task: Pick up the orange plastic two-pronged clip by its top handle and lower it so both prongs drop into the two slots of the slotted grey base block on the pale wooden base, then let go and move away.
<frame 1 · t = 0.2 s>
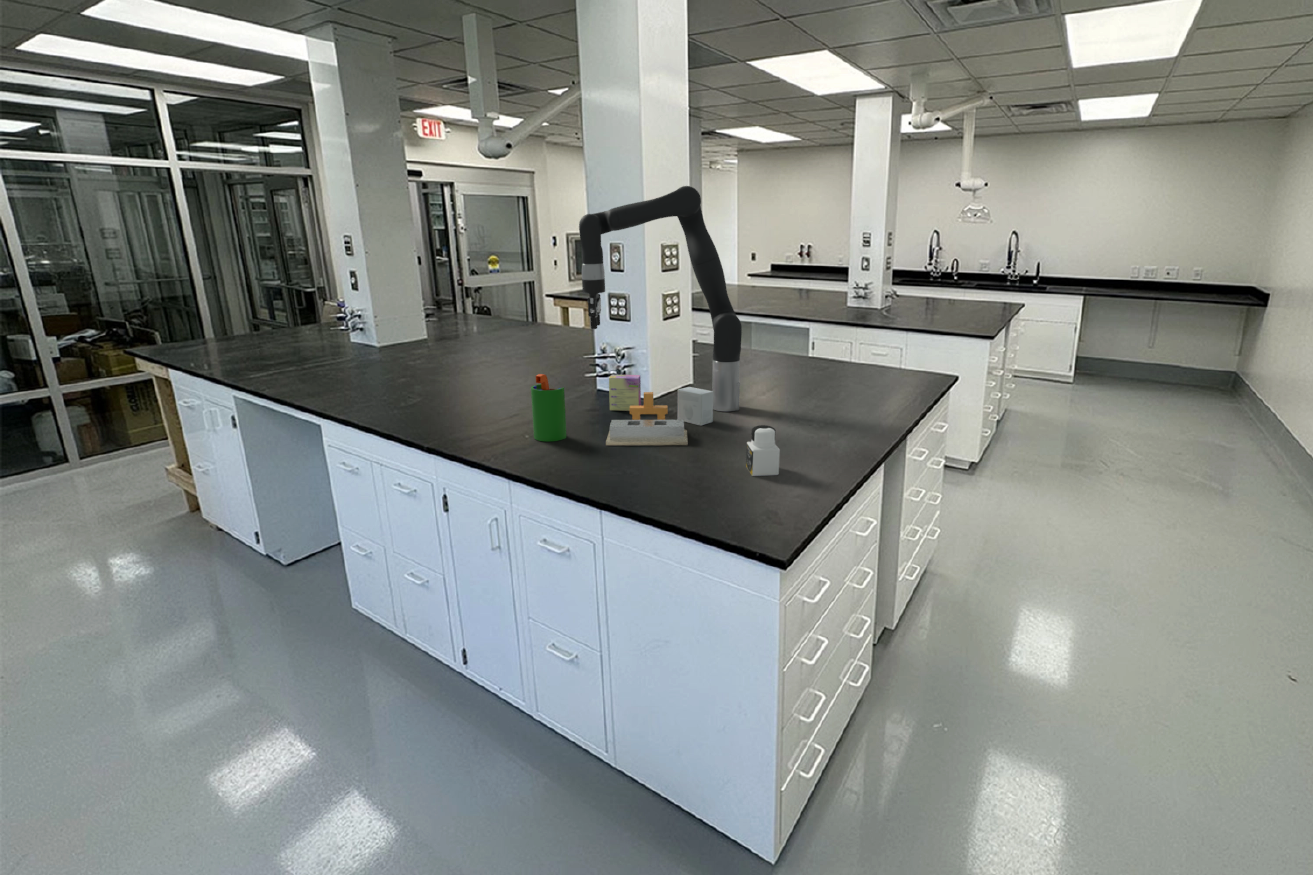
hand: (595, 327, 220), 29 cm above the worktop, tool pointing down, fingers open, 8 cm apart
clip: (648, 426, 209), on the worktop
slotted grey base block: (647, 438, 197), on the worktop
skincare box: (695, 421, 215), on the worktop
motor: (549, 437, 200), on the worktop
medicine bottle: (761, 471, 171), on the worktop
box: (625, 409, 230), on the worktop
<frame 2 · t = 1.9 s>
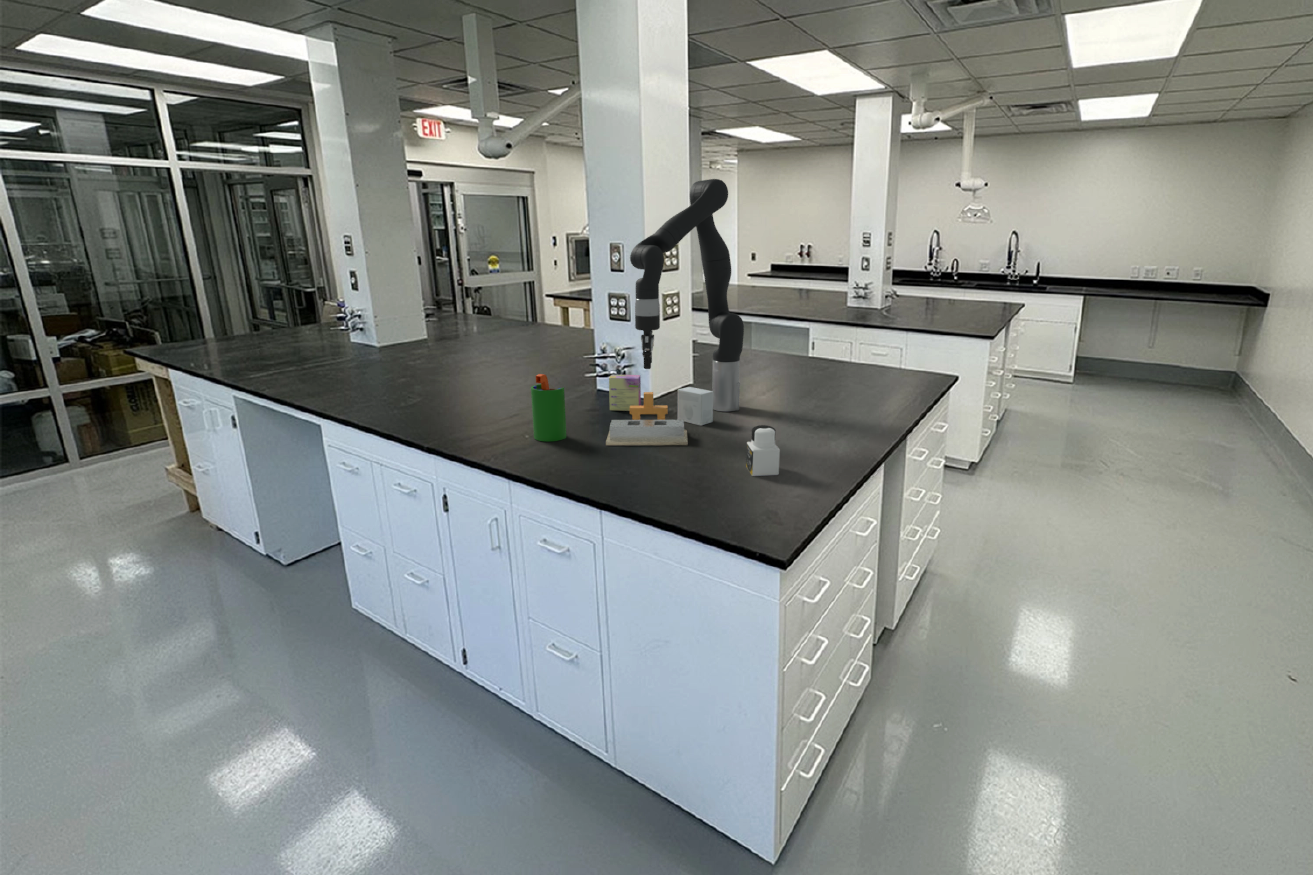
hand: (647, 366, 203), 20 cm above the worktop, tool pointing down, fingers open, 8 cm apart
nothing on the worktop moved.
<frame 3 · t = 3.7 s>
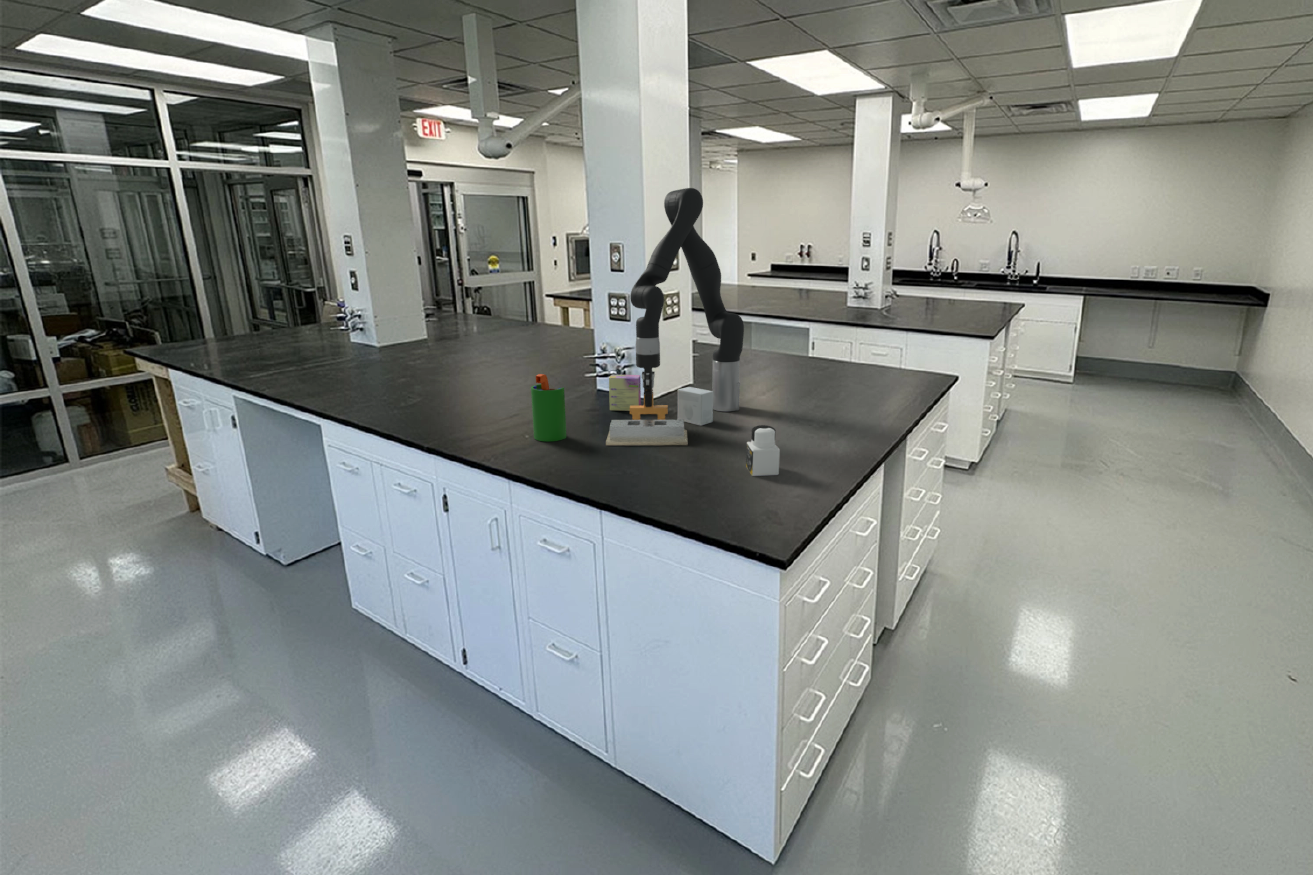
hand: (648, 405, 207), 7 cm above the worktop, tool pointing down, fingers closed on clip, 2 cm apart
clip: (649, 426, 209), on the worktop, touching gripper
everything else where it was.
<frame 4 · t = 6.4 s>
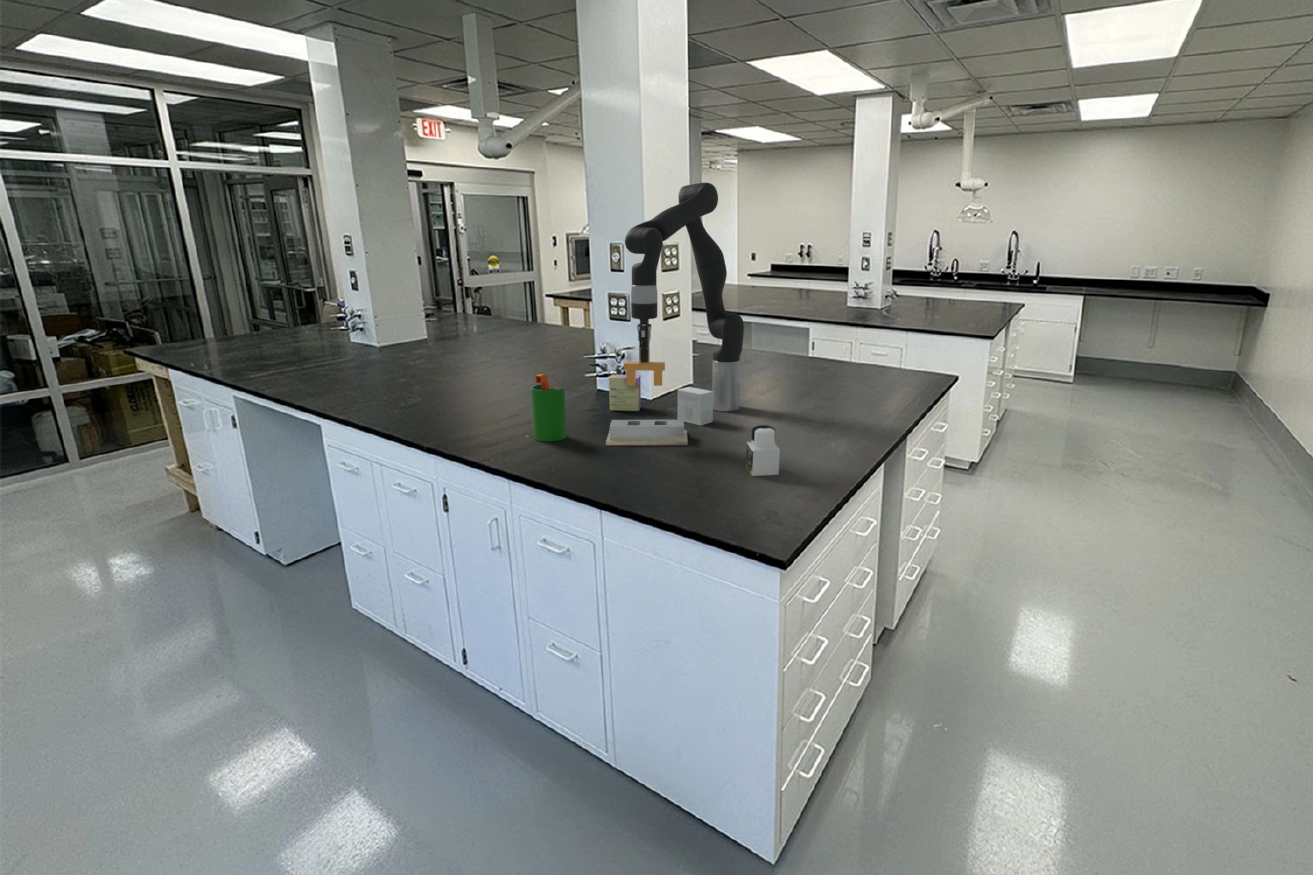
hand: (644, 360, 191), 24 cm above the worktop, tool pointing down, fingers closed on clip, 2 cm apart
clip: (644, 384, 193), point 17 cm above the worktop, touching gripper
everything else where it was.
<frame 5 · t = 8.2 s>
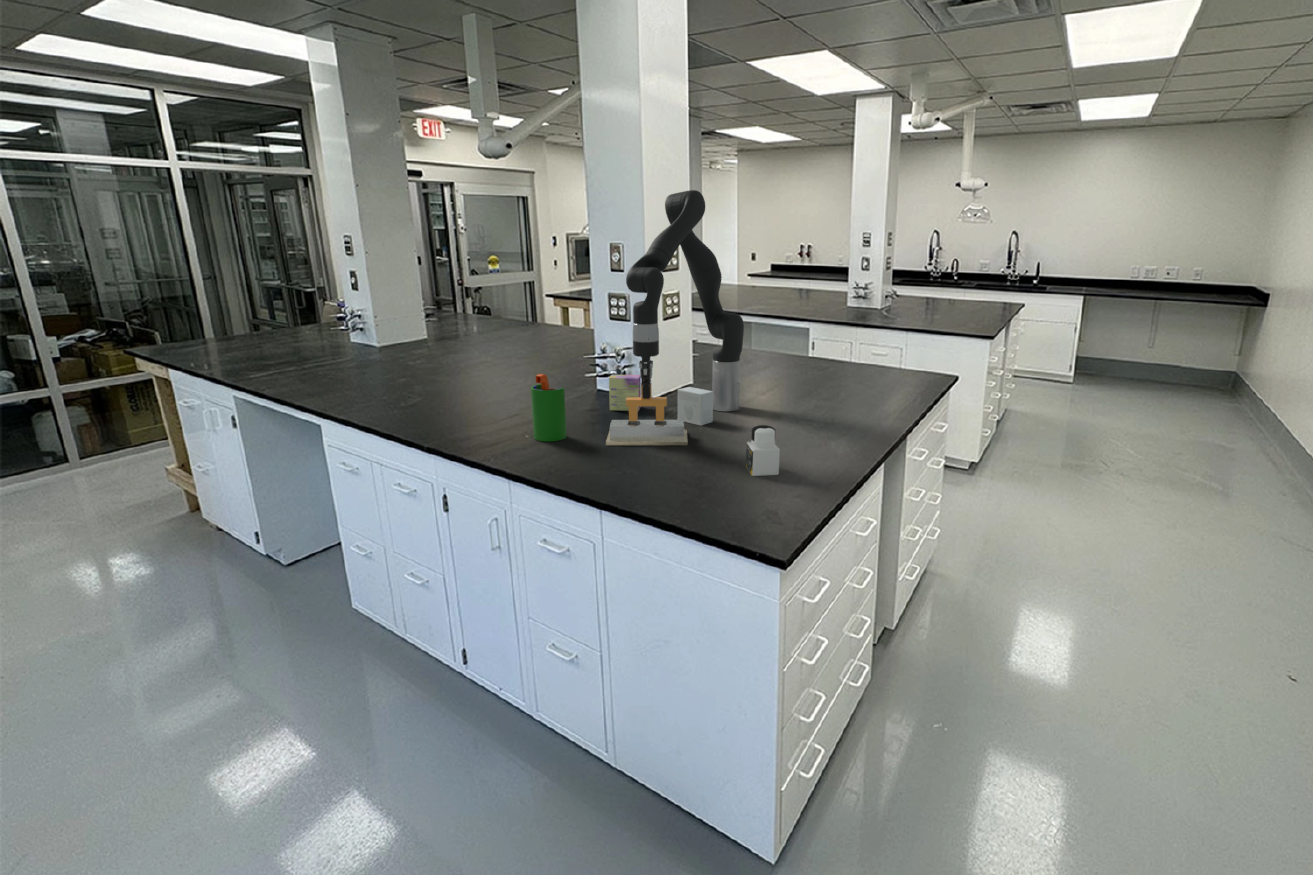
hand: (646, 396, 193), 13 cm above the worktop, tool pointing down, fingers closed on clip, 2 cm apart
clip: (646, 419, 195), point 6 cm above the worktop, touching gripper
everything else where it was.
when the fingers open (9 cm above the worktop, at t = 9.3 s): clip stays where it is, resting on slotted grey base block.
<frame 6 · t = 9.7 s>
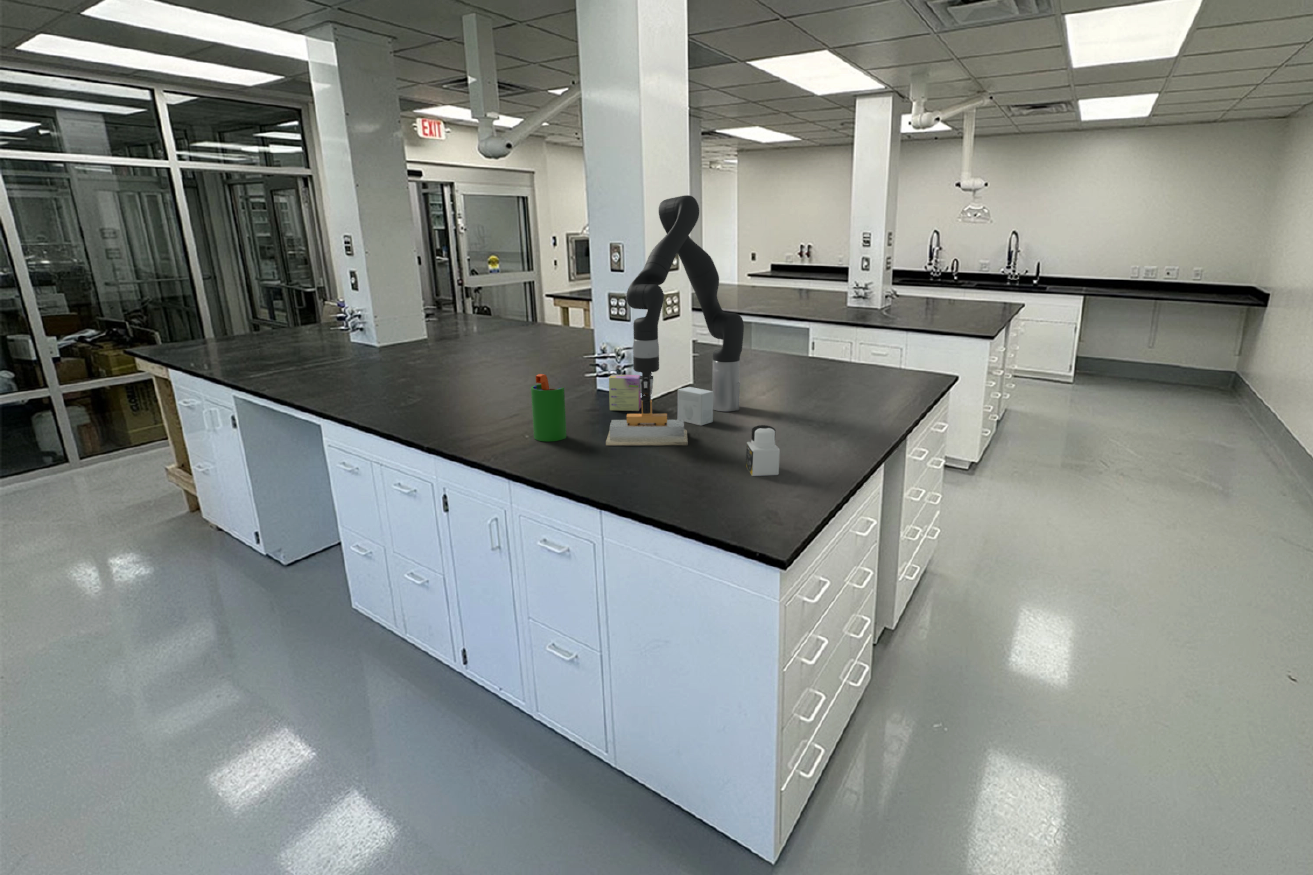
hand: (646, 410, 194), 9 cm above the worktop, tool pointing down, fingers open, 6 cm apart
clip: (647, 435, 197), point 1 cm above the worktop, touching slotted grey base block
everything else where it was.
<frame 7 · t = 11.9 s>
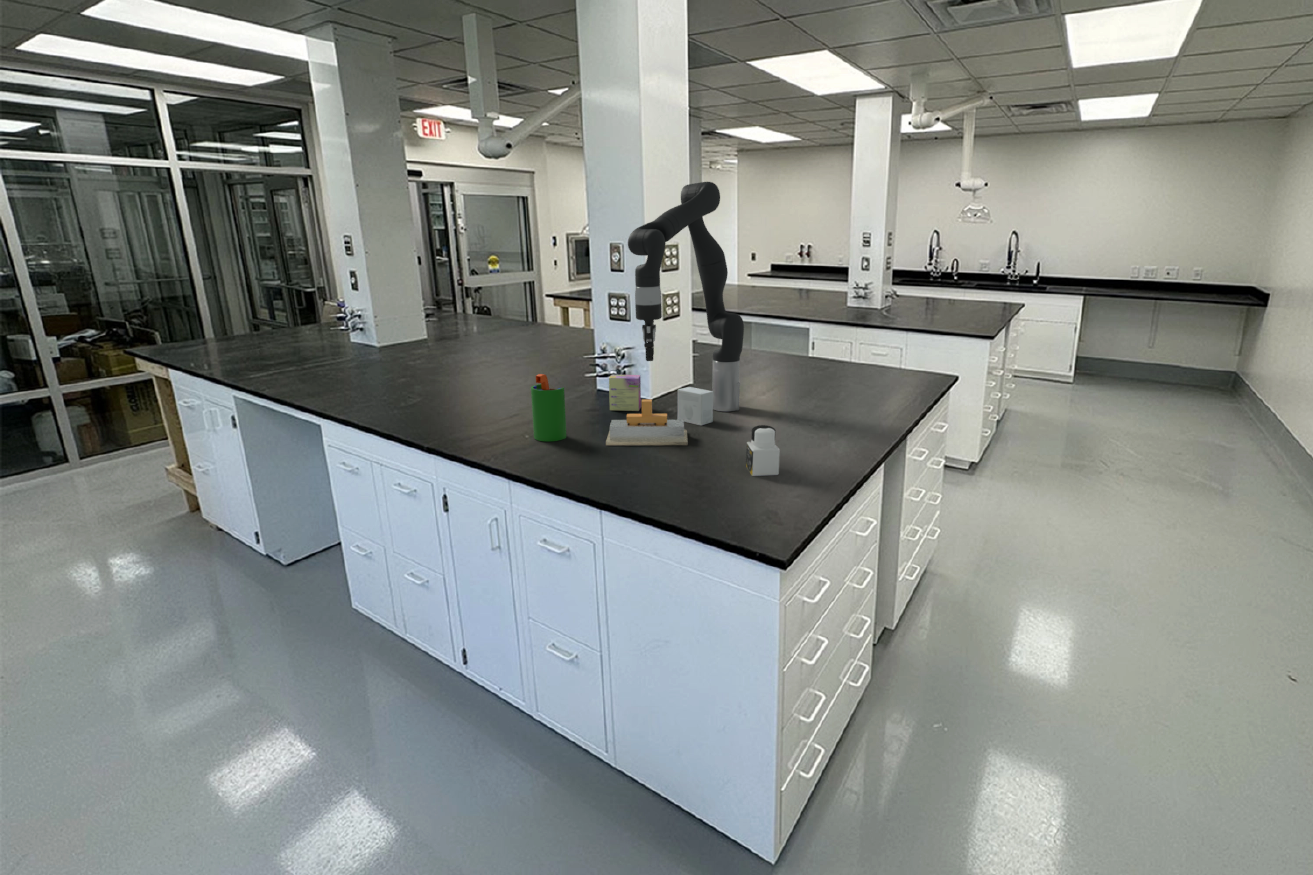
hand: (650, 357, 192), 24 cm above the worktop, tool pointing down, fingers open, 8 cm apart
nothing on the worktop moved.
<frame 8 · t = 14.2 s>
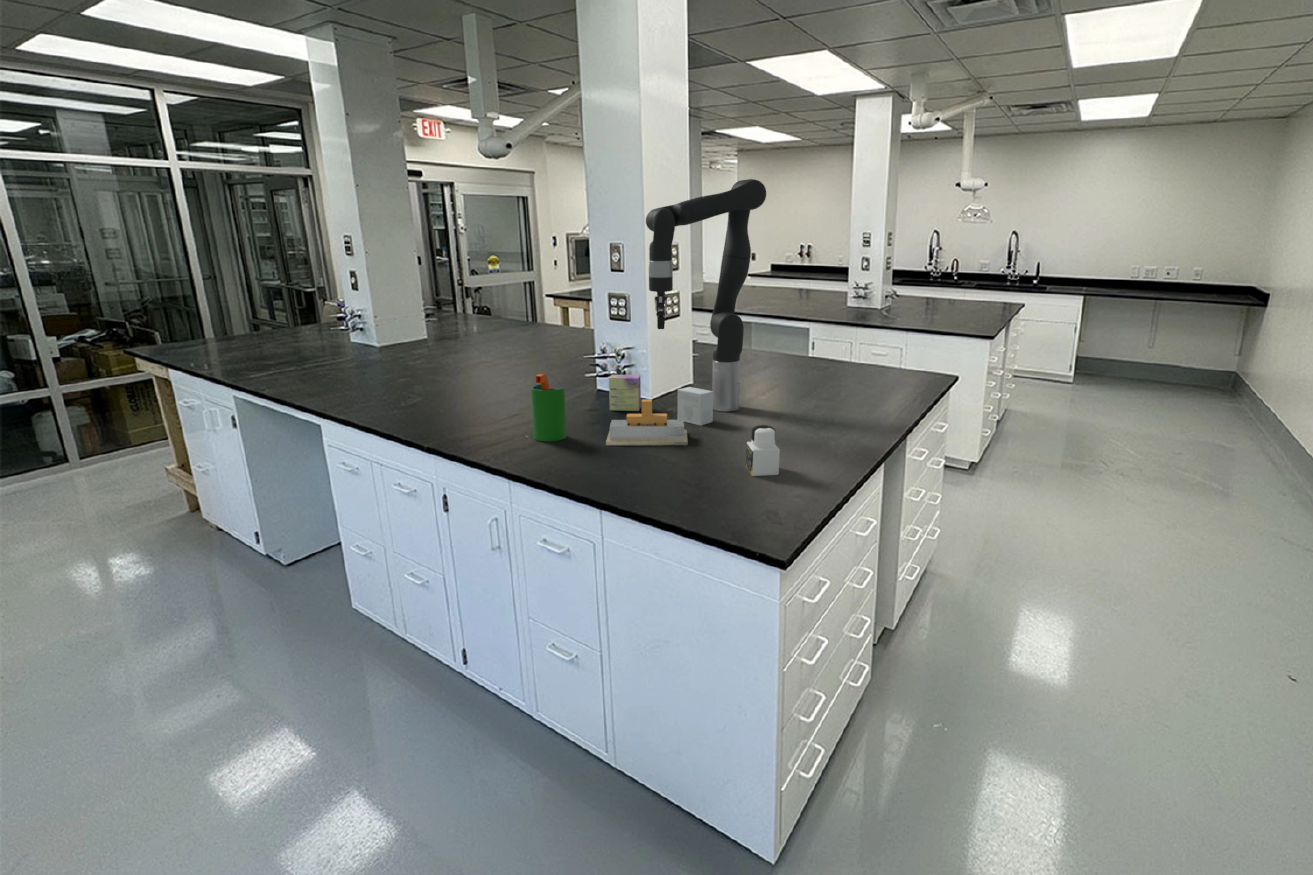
hand: (661, 327, 210), 30 cm above the worktop, tool pointing down, fingers open, 8 cm apart
nothing on the worktop moved.
at the end: clip 0.0 cm off-centre on the slotted grey base block, point 1.0 cm above the slotted grey base block's base; clip tilted 0°; the gripper is holding nothing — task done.
